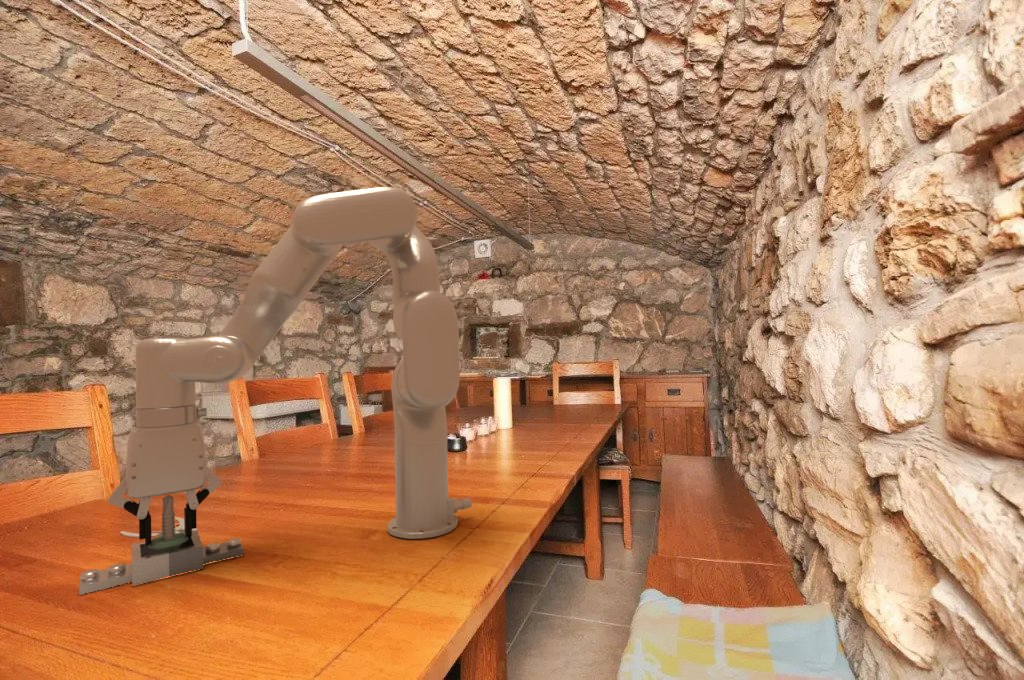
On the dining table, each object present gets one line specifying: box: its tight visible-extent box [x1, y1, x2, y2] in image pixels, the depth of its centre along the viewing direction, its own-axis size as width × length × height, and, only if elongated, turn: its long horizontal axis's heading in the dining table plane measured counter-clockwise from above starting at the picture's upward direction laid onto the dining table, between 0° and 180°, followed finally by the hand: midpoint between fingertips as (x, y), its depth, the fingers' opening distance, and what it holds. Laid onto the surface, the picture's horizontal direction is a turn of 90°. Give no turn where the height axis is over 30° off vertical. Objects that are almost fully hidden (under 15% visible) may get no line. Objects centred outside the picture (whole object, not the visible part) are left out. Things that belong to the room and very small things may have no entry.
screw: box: [148, 494, 188, 554], centre depth 76 cm, size 9×5×5 cm
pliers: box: [119, 516, 199, 537], centre depth 92 cm, size 10×2×15 cm
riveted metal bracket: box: [78, 531, 245, 596], centre depth 76 cm, size 20×8×4 cm, turn 128°
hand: (168, 537), depth 76 cm, fingers closed on screw, 4 cm apart
